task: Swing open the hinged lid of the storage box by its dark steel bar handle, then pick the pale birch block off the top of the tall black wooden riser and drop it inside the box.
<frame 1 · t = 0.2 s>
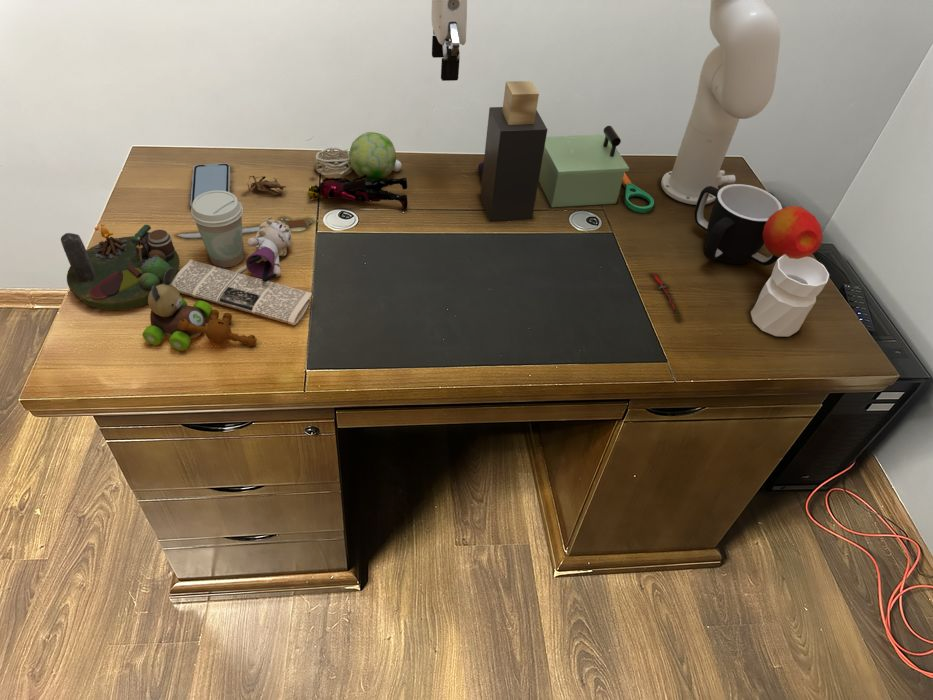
hand: (444, 68, 131), 25 cm above the table, tool pointing down, fingers open, 9 cm apart
mug: (727, 252, 139), on the table, touching apple
storage box: (574, 187, 151), on the table
apple: (807, 240, 115), point 16 cm above the table, touching vase, mug
block: (518, 118, 129), point 20 cm above the table, touching riser
sword: (248, 239, 130), on the table
newspaper: (239, 288, 118), point 2 cm above the table
coffee cup: (227, 258, 126), on the table
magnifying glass: (630, 193, 151), on the table
riser: (505, 207, 144), on the table
smartphone: (211, 188, 141), on the table
action figure: (358, 200, 142), on the table
toy: (245, 278, 118), point 3 cm above the table
gaming controller: (498, 179, 151), on the table
toy scene: (128, 279, 120), on the table
decorative ball: (363, 146, 139), point 9 cm above the table
lid: (585, 144, 143), point 11 cm above the table, hinge at 0.0°
insect: (258, 178, 137), point 4 cm above the table
toy car: (180, 329, 113), on the table, touching toy figurine
bracelet: (314, 162, 146), point 2 cm above the table
katana: (680, 301, 127), on the table
toy figurine: (221, 314, 114), point 2 cm above the table, touching toy car
spheres: (385, 152, 153), point 1 cm above the table
vase: (774, 321, 125), on the table, touching apple
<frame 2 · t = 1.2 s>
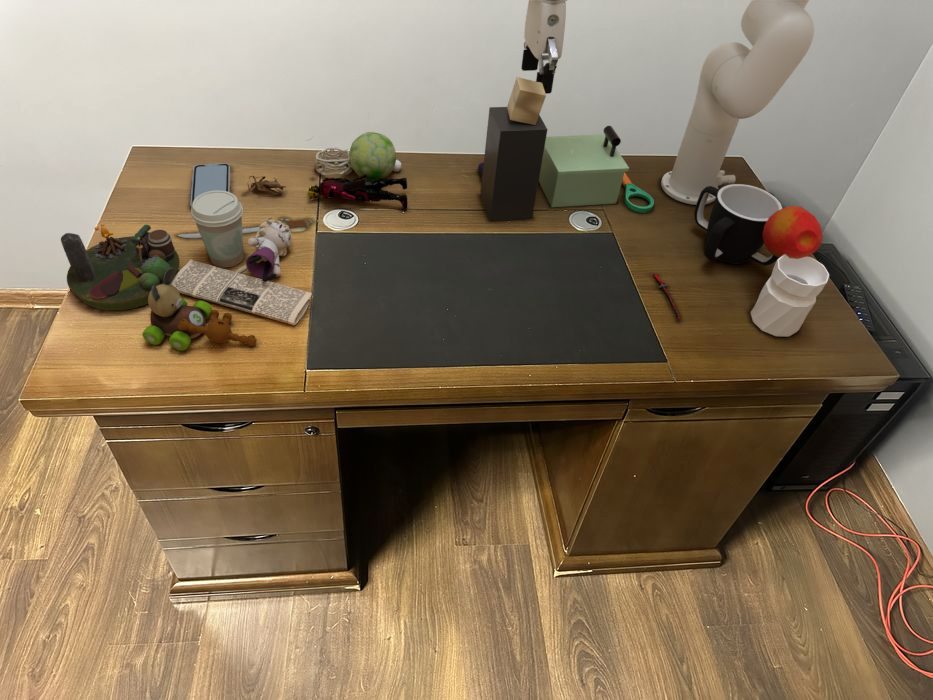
hand: (535, 81, 134), 23 cm above the table, tool pointing down, fingers open, 9 cm apart
block: (521, 116, 129), point 20 cm above the table, tilted 11°, touching riser
everything else where it was.
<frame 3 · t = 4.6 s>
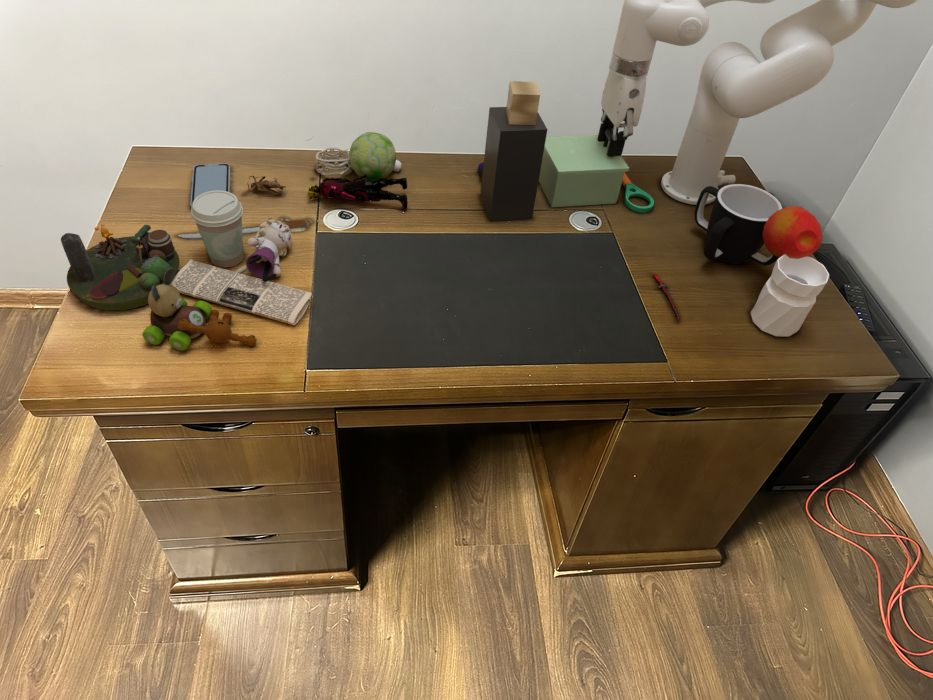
hand: (609, 147, 145), 10 cm above the table, tool pointing down, fingers closed on lid, 5 cm apart
block: (520, 118, 129), point 20 cm above the table, touching riser
lid: (585, 144, 143), point 10 cm above the table, hinge at 0.0°, touching gripper
everything else where it was.
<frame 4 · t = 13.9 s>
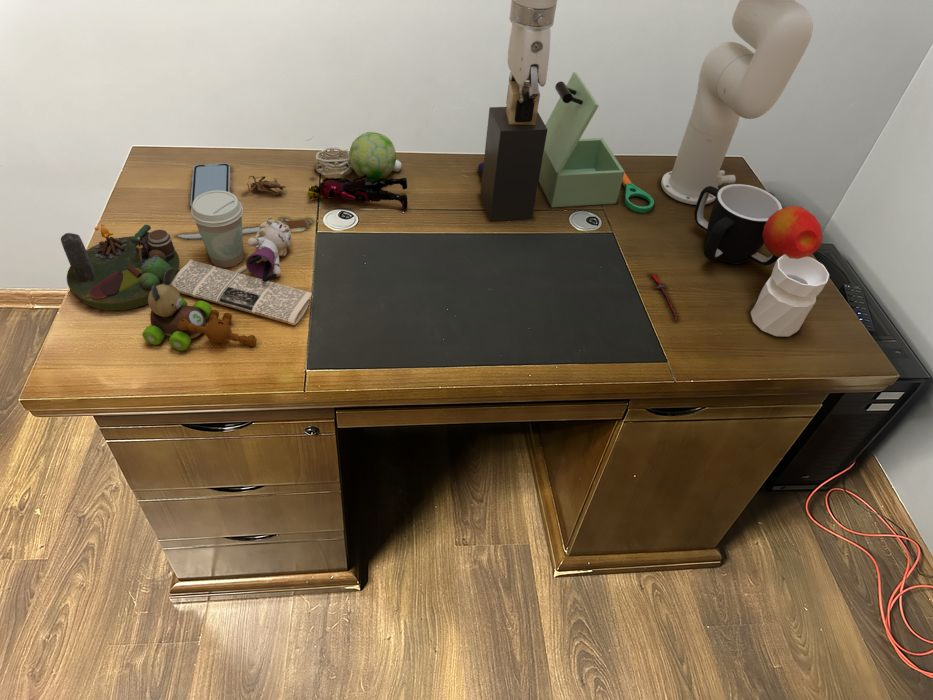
hand: (518, 112, 129), 21 cm above the table, tool pointing down, fingers closed on block, 5 cm apart
block: (520, 118, 129), point 20 cm above the table, touching gripper, riser
lid: (557, 119, 138), point 16 cm above the table, hinge at 70.2°
everything else where it was.
when the fingers open (7 cm above the table, at t = 23.5 s): block drops 5 cm, resting on storage box.
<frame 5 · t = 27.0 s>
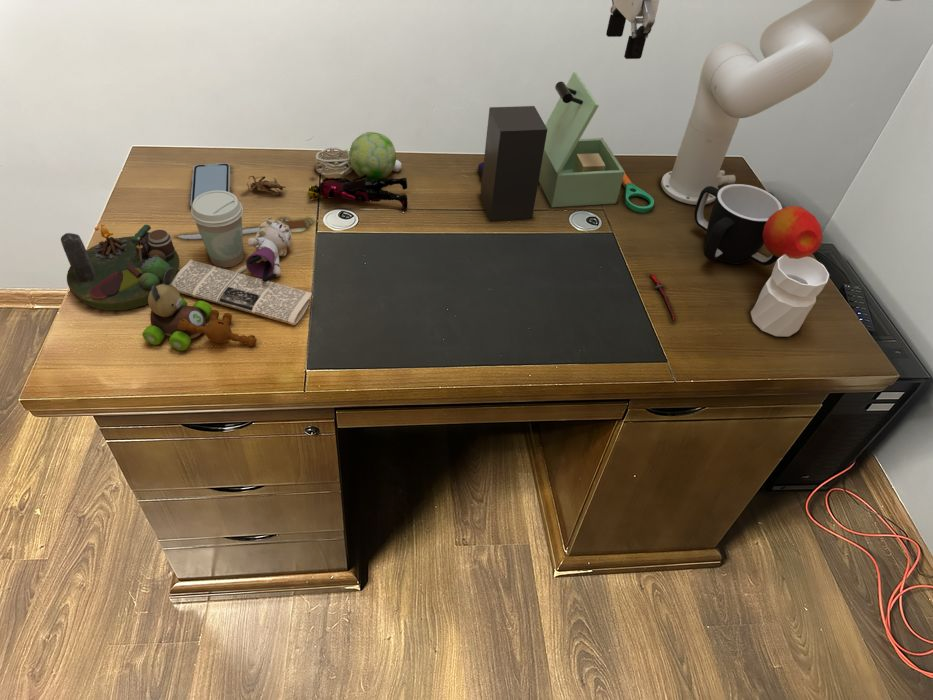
hand: (622, 46, 130), 30 cm above the table, tool pointing down, fingers open, 9 cm apart
block: (585, 183, 151), point 1 cm above the table, touching storage box
decorative ball: (363, 146, 139), point 9 cm above the table, touching spheres
spheres: (385, 152, 153), point 1 cm above the table, touching decorative ball
everything else where it was.
at the end: lid at +70° (first picture: +0°); block inside the target area in the storage box (2.4 cm from its centre), point 0.8 cm above the storage box's base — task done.
